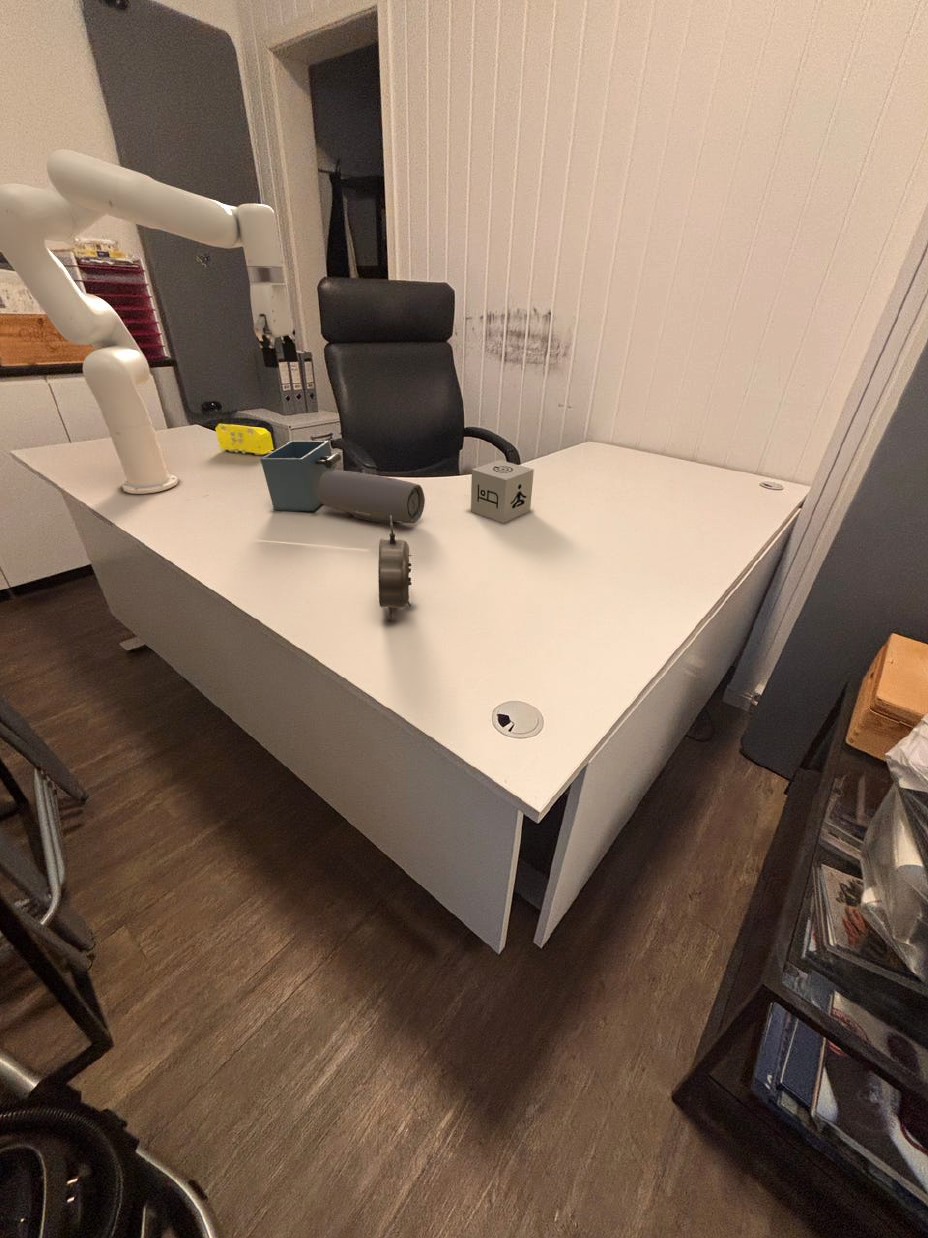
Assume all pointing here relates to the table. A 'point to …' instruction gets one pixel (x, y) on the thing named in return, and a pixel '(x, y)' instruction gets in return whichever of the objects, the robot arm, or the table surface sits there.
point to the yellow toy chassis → (244, 439)
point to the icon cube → (501, 490)
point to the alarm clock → (393, 572)
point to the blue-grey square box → (297, 474)
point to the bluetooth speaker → (371, 496)
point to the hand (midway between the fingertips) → (282, 364)
